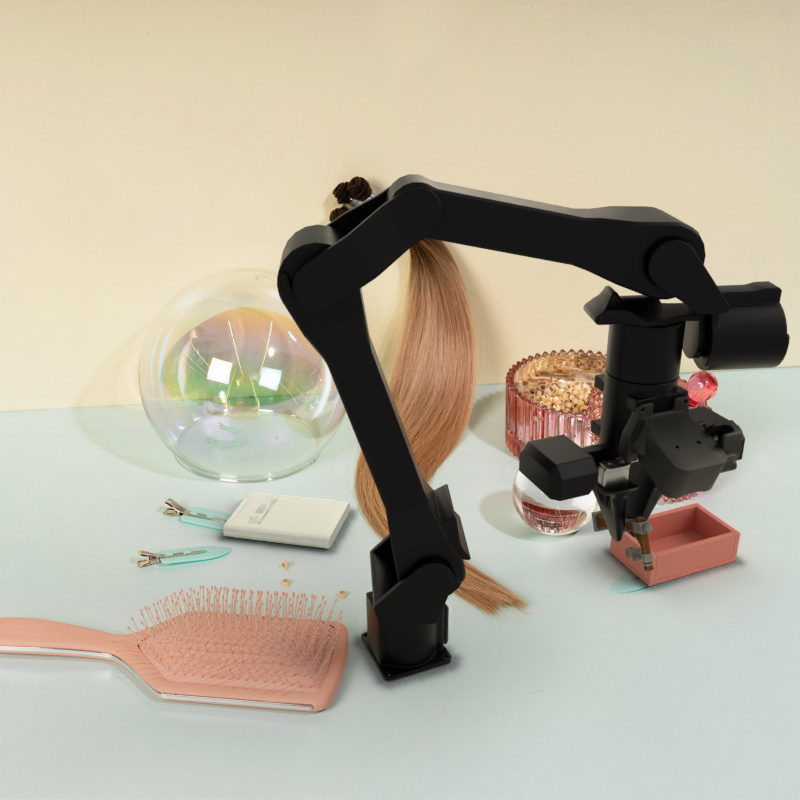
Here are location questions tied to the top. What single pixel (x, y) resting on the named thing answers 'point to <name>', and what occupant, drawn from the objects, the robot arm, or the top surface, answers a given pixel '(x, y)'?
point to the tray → (681, 544)
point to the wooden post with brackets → (641, 534)
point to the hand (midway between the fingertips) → (624, 537)
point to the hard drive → (288, 519)
